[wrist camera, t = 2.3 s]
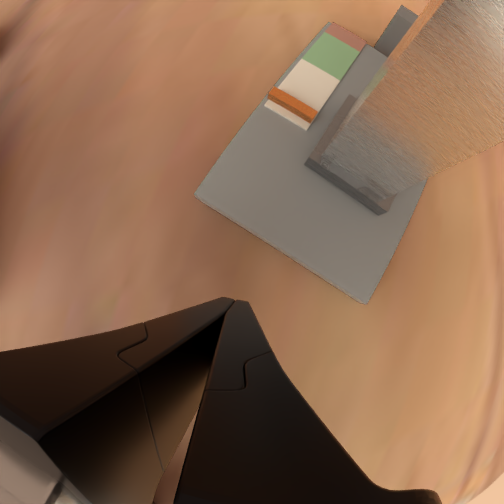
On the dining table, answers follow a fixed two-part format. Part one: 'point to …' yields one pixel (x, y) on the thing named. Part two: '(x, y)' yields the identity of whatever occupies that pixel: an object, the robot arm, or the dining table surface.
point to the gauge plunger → (417, 105)
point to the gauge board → (306, 180)
